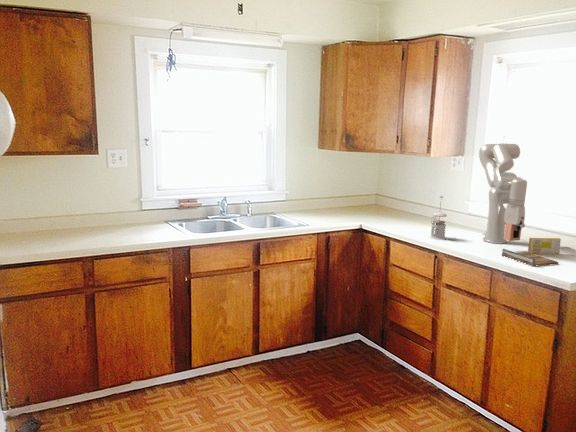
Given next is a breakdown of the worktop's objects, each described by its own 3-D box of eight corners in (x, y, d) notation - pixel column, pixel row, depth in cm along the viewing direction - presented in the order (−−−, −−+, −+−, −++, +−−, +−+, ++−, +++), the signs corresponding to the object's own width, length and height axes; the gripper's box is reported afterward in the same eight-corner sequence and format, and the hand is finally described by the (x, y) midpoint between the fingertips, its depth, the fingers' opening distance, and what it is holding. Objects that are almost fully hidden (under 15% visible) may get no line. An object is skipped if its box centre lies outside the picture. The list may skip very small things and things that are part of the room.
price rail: (502, 253, 257) (502, 248, 256) (503, 253, 257) (503, 248, 257) (533, 264, 238) (533, 259, 238) (534, 263, 239) (535, 259, 238)
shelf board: (501, 255, 257) (501, 253, 257) (525, 253, 262) (526, 251, 262) (532, 266, 238) (533, 264, 238) (558, 264, 244) (558, 261, 244)
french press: (434, 240, 288) (438, 196, 284) (424, 235, 299) (427, 193, 295) (449, 239, 291) (453, 196, 286) (438, 235, 302) (442, 193, 297)
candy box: (557, 253, 267) (559, 238, 265) (559, 254, 265) (561, 238, 263) (527, 252, 266) (529, 237, 264) (529, 253, 264) (531, 238, 262)
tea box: (503, 238, 268) (505, 222, 266) (514, 238, 271) (516, 221, 269) (509, 240, 264) (511, 224, 262) (519, 240, 267) (522, 223, 265)
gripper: (499, 200, 270) (495, 233, 273) (523, 205, 254) (518, 240, 258) (510, 199, 272) (506, 232, 276) (534, 205, 257) (530, 240, 261)
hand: (512, 236), depth 267 cm, fingers closed on tea box, 4 cm apart
